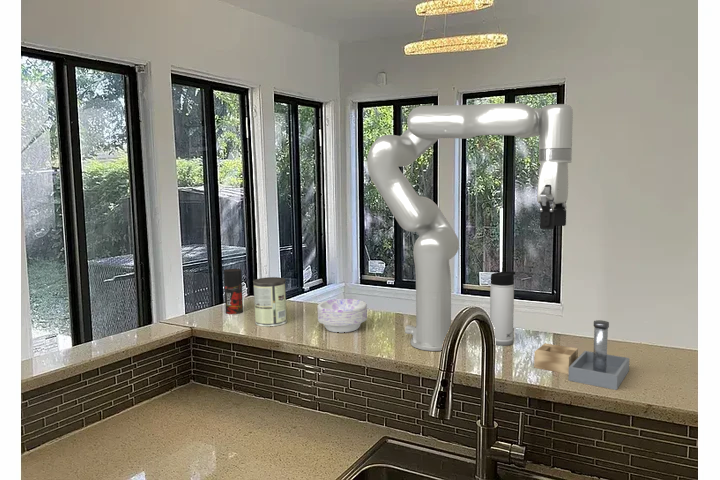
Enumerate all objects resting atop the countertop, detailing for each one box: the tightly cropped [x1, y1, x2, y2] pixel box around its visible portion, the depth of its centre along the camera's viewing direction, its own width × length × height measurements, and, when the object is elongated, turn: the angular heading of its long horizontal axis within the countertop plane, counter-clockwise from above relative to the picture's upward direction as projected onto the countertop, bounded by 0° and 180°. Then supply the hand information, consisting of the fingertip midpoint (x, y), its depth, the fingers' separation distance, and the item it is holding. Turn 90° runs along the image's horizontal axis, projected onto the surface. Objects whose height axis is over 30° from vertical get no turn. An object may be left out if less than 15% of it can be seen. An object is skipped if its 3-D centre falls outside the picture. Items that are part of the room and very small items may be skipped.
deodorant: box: [223, 268, 244, 315], centre depth 190 cm, size 6×6×15 cm
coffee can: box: [252, 276, 288, 328], centre depth 175 cm, size 10×10×14 cm
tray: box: [568, 350, 630, 391], centre depth 125 cm, size 10×14×3 cm
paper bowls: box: [316, 298, 368, 334], centre depth 167 cm, size 15×15×8 cm
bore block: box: [533, 342, 579, 375], centre depth 131 cm, size 8×8×4 cm
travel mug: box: [489, 270, 516, 347], centre depth 150 cm, size 6×7×20 cm
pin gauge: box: [593, 319, 610, 373], centre depth 124 cm, size 3×3×12 cm
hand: (553, 227), depth 134 cm, fingers open, 9 cm apart
